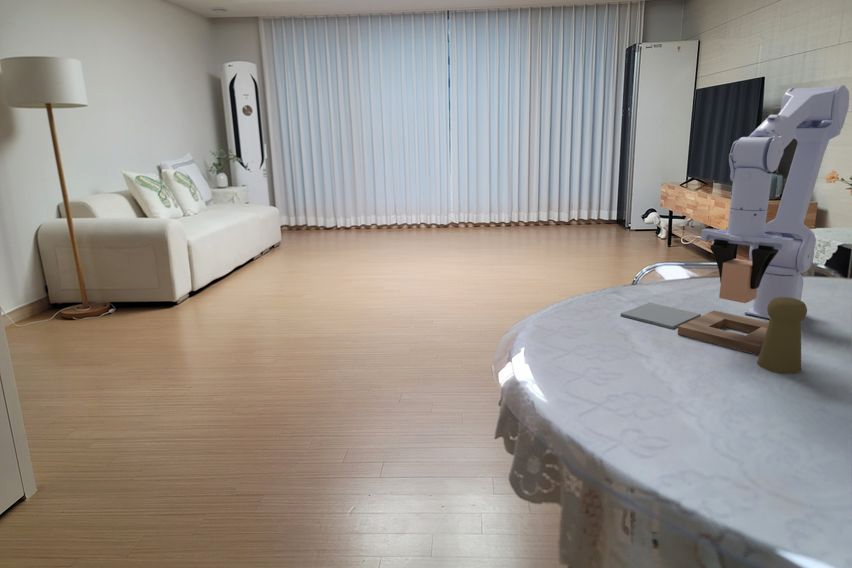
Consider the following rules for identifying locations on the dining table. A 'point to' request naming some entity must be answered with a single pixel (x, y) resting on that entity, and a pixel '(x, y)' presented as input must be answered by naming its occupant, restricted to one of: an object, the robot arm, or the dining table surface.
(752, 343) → the holder
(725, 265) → the block
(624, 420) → the dining table surface
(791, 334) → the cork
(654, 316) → the mat
